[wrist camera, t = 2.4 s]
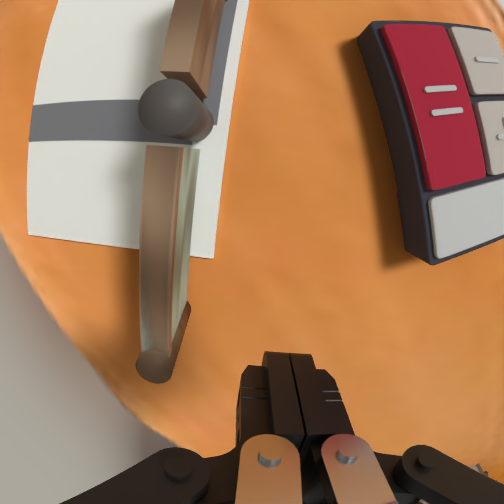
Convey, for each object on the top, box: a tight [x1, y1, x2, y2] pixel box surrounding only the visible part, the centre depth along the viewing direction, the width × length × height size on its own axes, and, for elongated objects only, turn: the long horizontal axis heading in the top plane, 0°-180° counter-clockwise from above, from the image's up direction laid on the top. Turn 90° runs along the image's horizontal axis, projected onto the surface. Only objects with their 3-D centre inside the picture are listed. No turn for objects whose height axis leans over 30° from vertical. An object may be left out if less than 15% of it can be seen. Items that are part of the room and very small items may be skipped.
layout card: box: [27, 0, 250, 259], centre depth 16 cm, size 18×14×1 cm
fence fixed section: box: [138, 0, 228, 142], centre depth 12 cm, size 11×2×7 cm, turn 172°
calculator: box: [357, 21, 504, 265], centre depth 16 cm, size 11×4×15 cm
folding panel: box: [136, 145, 200, 383], centre depth 15 cm, size 11×2×6 cm, turn 172°
